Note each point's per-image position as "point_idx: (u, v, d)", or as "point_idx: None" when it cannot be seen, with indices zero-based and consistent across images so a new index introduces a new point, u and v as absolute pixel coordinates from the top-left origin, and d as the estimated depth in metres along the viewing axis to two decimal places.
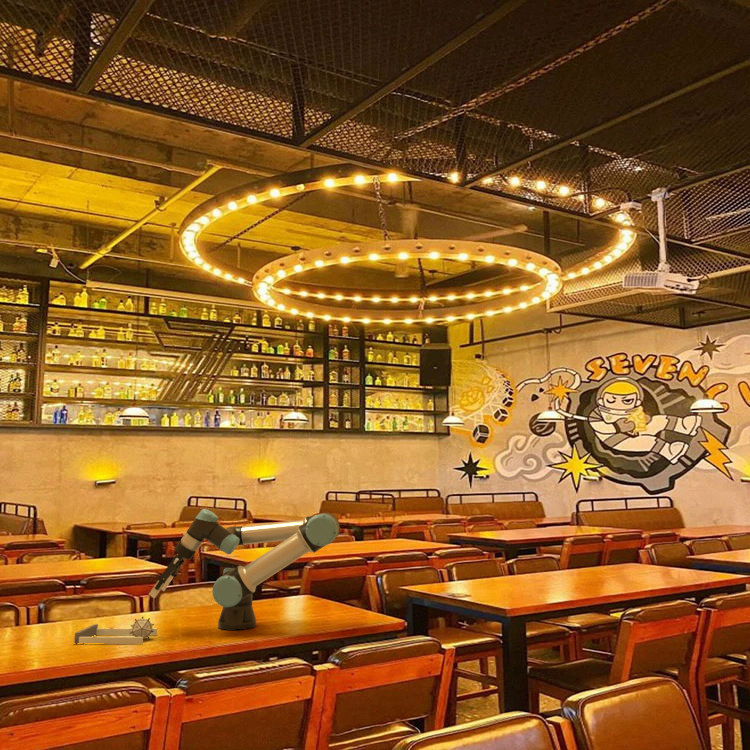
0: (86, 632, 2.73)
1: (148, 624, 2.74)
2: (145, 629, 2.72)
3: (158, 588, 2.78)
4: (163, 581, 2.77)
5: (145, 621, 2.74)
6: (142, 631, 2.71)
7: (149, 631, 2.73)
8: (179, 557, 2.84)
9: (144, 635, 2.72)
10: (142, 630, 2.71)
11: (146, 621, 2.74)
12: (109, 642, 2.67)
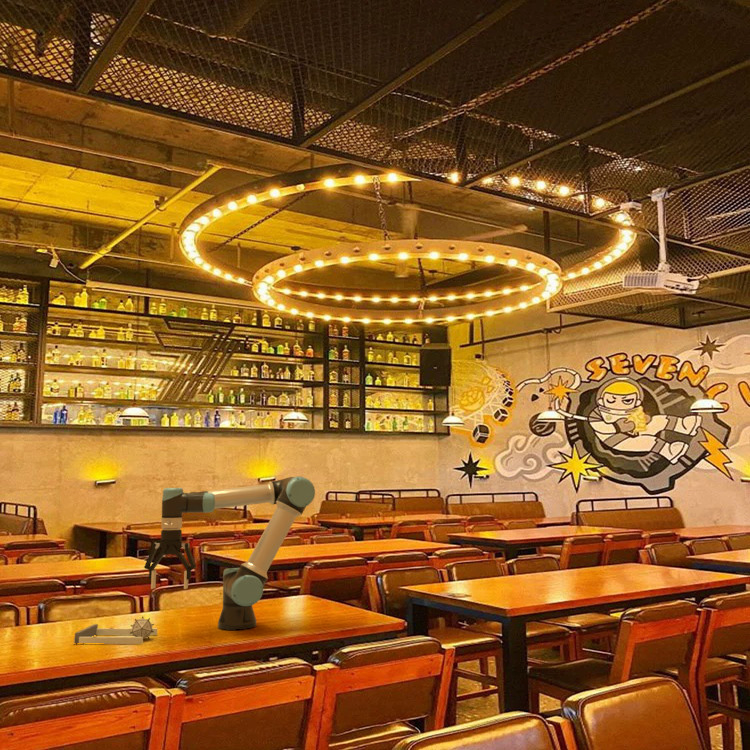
0: (86, 632, 2.73)
1: (148, 624, 2.74)
2: (145, 629, 2.72)
3: (190, 576, 2.77)
4: (195, 566, 2.78)
5: (145, 621, 2.74)
6: (142, 631, 2.72)
7: (149, 631, 2.73)
8: (181, 541, 2.79)
9: (144, 635, 2.72)
10: (142, 630, 2.71)
11: (146, 621, 2.74)
12: (109, 642, 2.67)
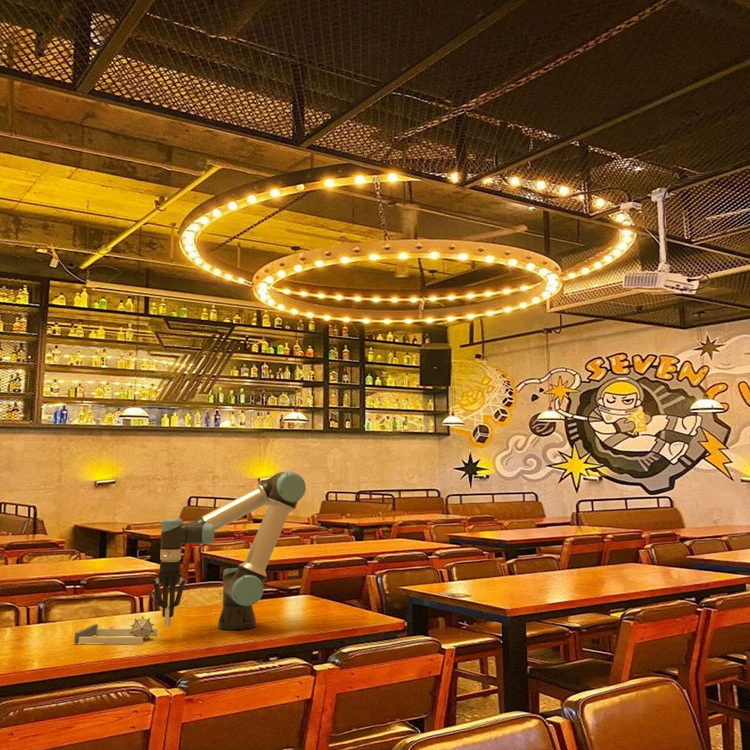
0: (86, 632, 2.73)
1: (148, 624, 2.74)
2: (145, 629, 2.72)
3: (173, 614, 2.75)
4: (178, 604, 2.76)
5: (145, 621, 2.74)
6: (142, 631, 2.72)
7: (149, 631, 2.73)
8: None
9: (144, 635, 2.72)
10: (142, 630, 2.71)
11: (146, 621, 2.74)
12: (109, 642, 2.67)
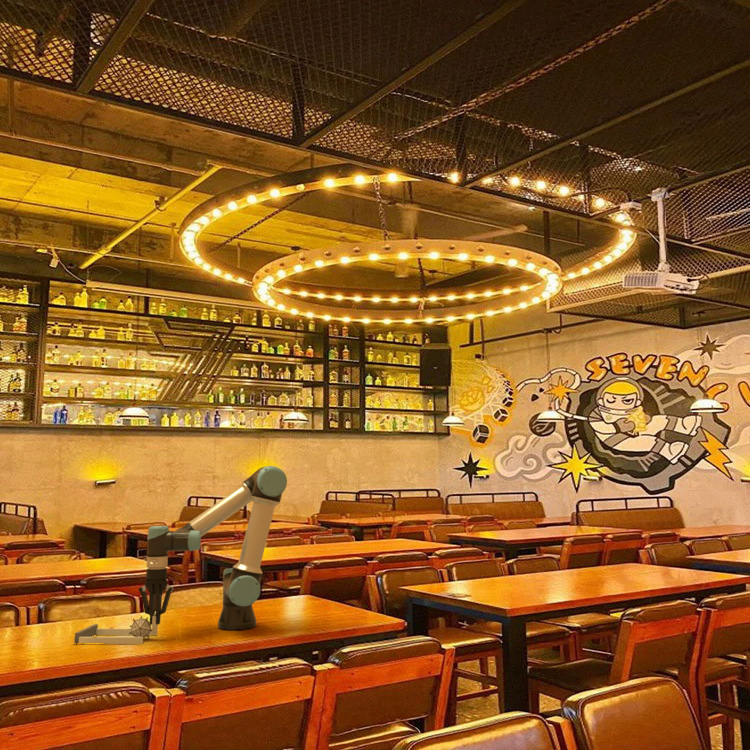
0: (86, 632, 2.73)
1: (146, 623, 2.74)
2: (144, 629, 2.72)
3: None
4: (165, 611, 2.76)
5: (143, 621, 2.74)
6: (141, 631, 2.71)
7: (148, 630, 2.73)
8: None
9: (143, 634, 2.72)
10: (140, 630, 2.71)
11: (144, 620, 2.74)
12: (109, 642, 2.67)
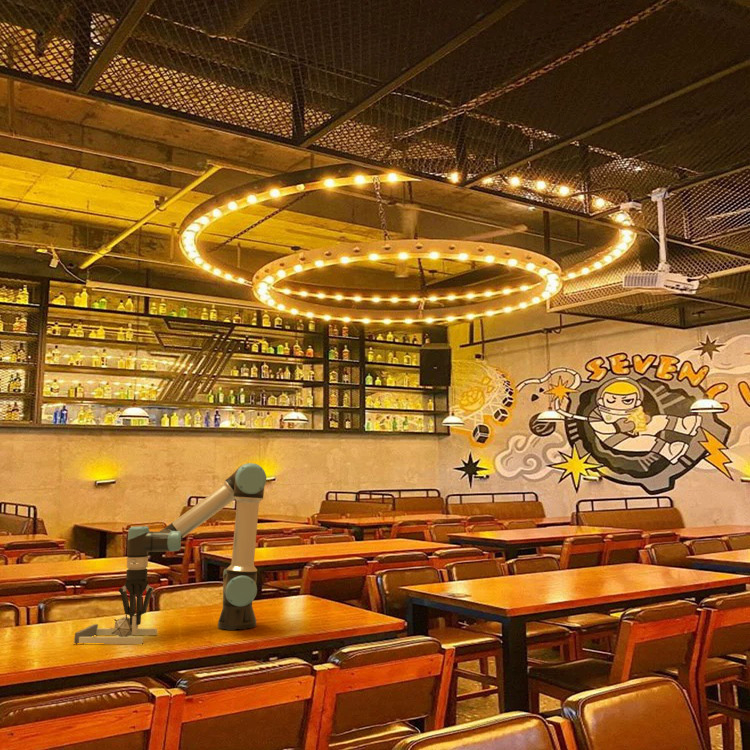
0: (86, 632, 2.73)
1: (126, 623, 2.74)
2: (123, 628, 2.73)
3: (140, 622, 2.75)
4: (145, 611, 2.76)
5: (123, 620, 2.75)
6: (120, 631, 2.73)
7: (128, 630, 2.74)
8: None
9: (124, 634, 2.73)
10: (119, 630, 2.73)
11: (124, 620, 2.75)
12: (109, 642, 2.67)
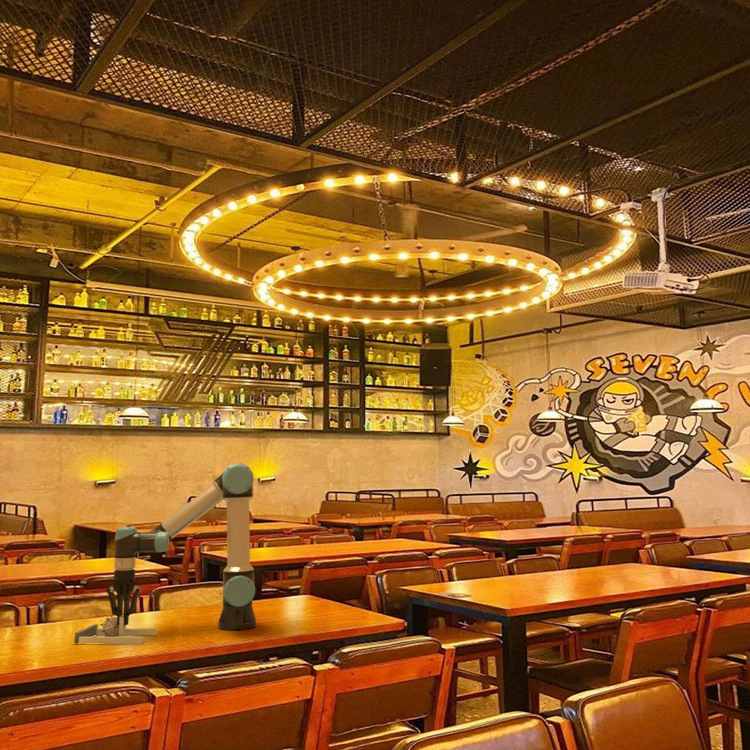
0: (86, 632, 2.73)
1: (109, 623, 2.75)
2: (108, 629, 2.74)
3: None
4: (133, 612, 2.77)
5: (106, 622, 2.76)
6: (107, 632, 2.74)
7: (113, 628, 2.74)
8: (135, 583, 2.77)
9: (112, 633, 2.75)
10: (105, 632, 2.74)
11: (106, 621, 2.76)
12: (109, 642, 2.67)
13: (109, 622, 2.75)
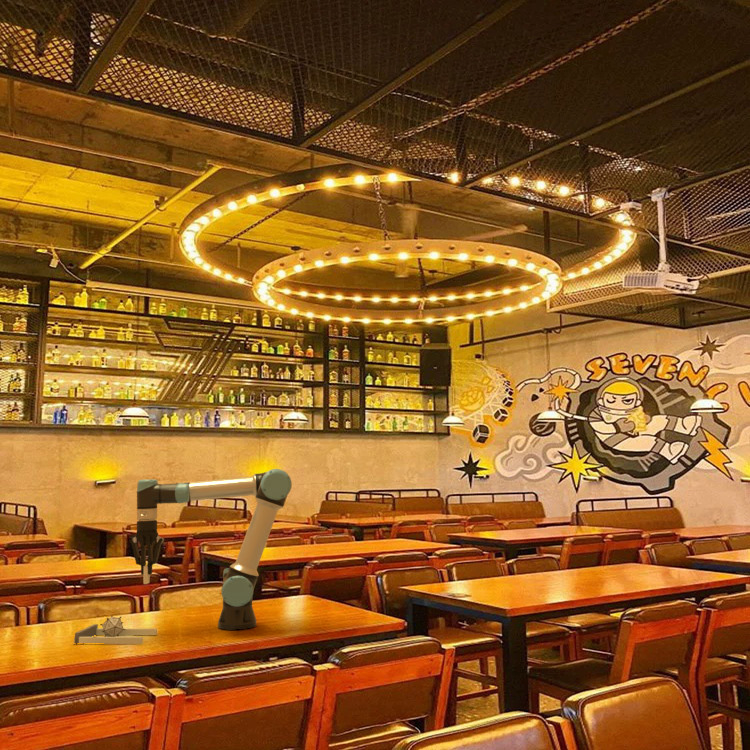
0: (86, 632, 2.73)
1: (109, 623, 2.75)
2: (108, 629, 2.74)
3: None
4: (156, 561, 2.82)
5: (106, 622, 2.76)
6: (107, 632, 2.74)
7: (113, 628, 2.74)
8: None
9: (112, 633, 2.75)
10: (105, 632, 2.74)
11: (106, 621, 2.76)
12: (109, 642, 2.67)
13: (109, 622, 2.75)
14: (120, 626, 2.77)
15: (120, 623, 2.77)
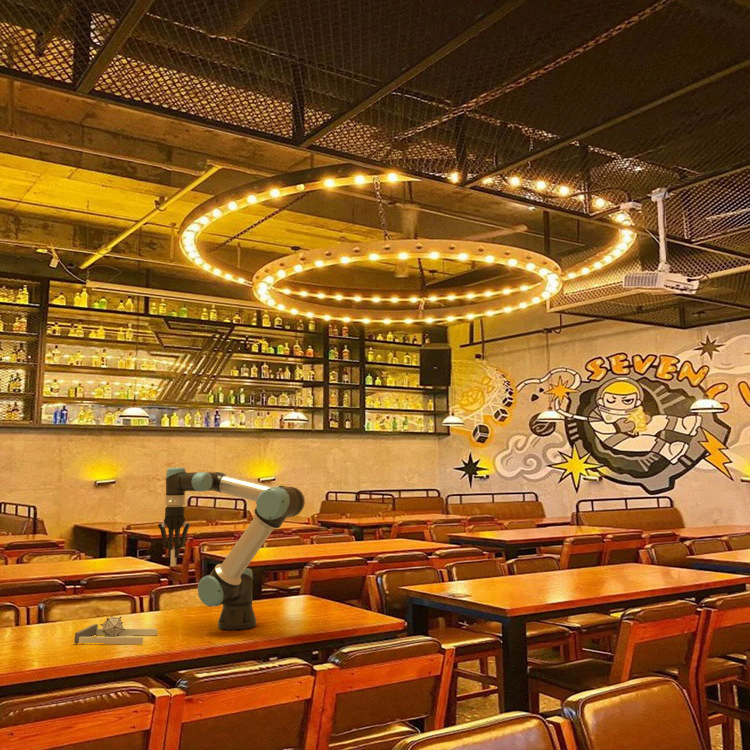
0: (86, 632, 2.73)
1: (109, 623, 2.75)
2: (108, 629, 2.74)
3: (178, 555, 2.97)
4: (183, 545, 2.98)
5: (106, 622, 2.76)
6: (107, 632, 2.74)
7: (113, 628, 2.74)
8: None
9: (112, 633, 2.75)
10: (105, 632, 2.74)
11: (106, 621, 2.76)
12: (109, 642, 2.67)
13: (109, 622, 2.75)
14: (120, 626, 2.77)
15: (120, 623, 2.77)
